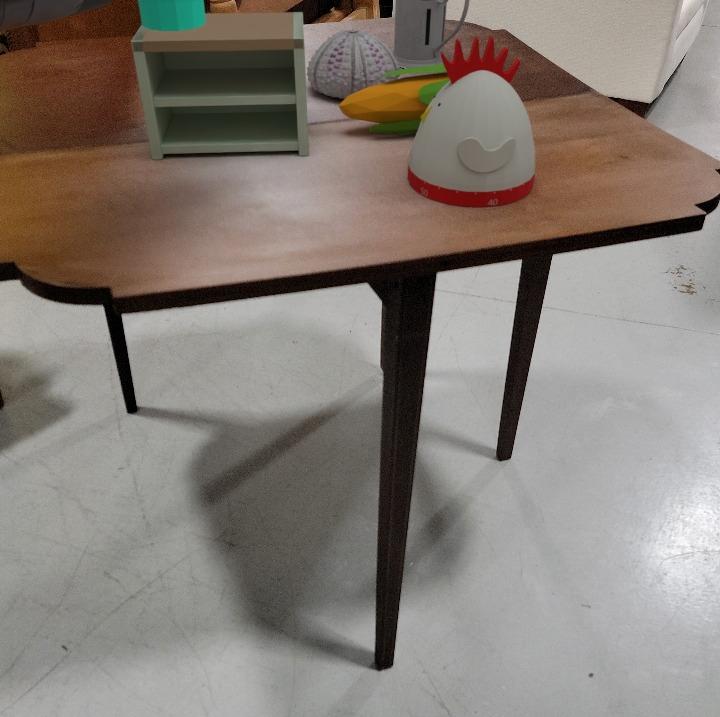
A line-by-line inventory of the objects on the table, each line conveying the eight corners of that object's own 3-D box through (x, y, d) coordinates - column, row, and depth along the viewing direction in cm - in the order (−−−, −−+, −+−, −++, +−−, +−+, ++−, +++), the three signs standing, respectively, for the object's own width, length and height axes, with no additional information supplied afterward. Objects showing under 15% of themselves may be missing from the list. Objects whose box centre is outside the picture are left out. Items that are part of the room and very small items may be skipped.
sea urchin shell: (348, 112, 99) (348, 50, 94) (287, 88, 107) (284, 29, 102) (417, 91, 106) (420, 32, 101) (356, 70, 114) (356, 15, 109)
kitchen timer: (400, 157, 87) (405, 21, 77) (514, 152, 88) (532, 18, 78) (418, 209, 76) (427, 58, 66) (548, 204, 77) (574, 54, 67)
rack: (152, 159, 86) (130, 40, 78) (165, 123, 95) (148, 14, 87) (309, 155, 87) (304, 38, 79) (307, 120, 96) (302, 11, 88)
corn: (504, 67, 89) (346, 81, 84) (499, 130, 93) (348, 146, 89) (479, 55, 95) (330, 67, 90) (475, 114, 99) (333, 129, 95)
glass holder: (419, 51, 122) (425, -50, 113) (481, 71, 114) (492, -37, 104) (379, 60, 118) (381, -44, 109) (440, 82, 109) (448, -30, 100)
